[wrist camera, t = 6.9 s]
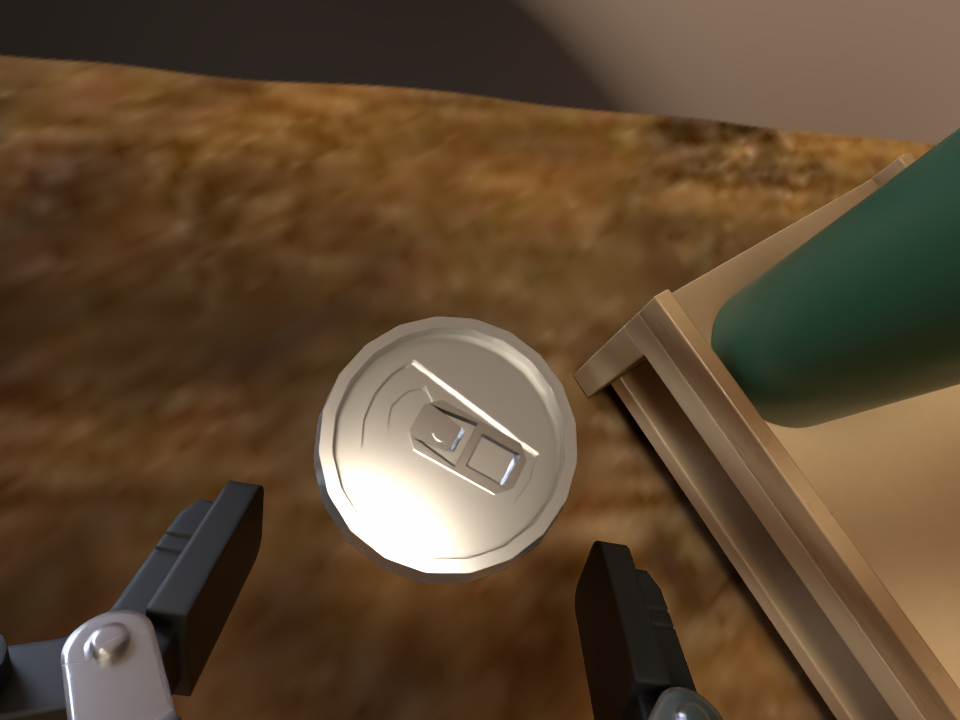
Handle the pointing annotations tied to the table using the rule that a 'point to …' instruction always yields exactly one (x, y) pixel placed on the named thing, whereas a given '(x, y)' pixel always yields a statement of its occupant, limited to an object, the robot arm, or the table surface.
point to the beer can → (445, 450)
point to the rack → (826, 430)
